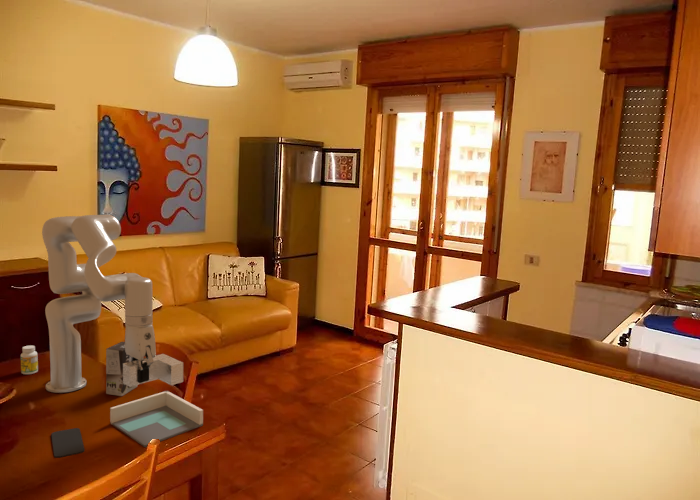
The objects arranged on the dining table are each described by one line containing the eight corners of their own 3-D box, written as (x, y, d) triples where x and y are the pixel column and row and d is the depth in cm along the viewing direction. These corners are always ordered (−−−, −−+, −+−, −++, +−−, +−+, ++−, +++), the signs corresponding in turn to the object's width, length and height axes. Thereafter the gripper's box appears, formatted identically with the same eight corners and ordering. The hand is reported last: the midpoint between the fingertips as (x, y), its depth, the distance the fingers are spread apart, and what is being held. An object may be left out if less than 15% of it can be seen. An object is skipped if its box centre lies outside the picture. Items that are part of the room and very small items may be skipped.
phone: (54, 457, 142) (50, 432, 155) (54, 460, 142) (50, 435, 155) (85, 451, 146) (79, 427, 159) (85, 453, 146) (79, 429, 159)
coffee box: (122, 396, 182) (122, 350, 180) (105, 394, 184) (105, 348, 181) (138, 386, 191) (138, 342, 189) (122, 384, 192) (121, 340, 190)
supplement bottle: (41, 371, 201) (40, 346, 199) (28, 375, 196) (27, 350, 195) (31, 368, 203) (30, 343, 201) (17, 373, 198) (16, 347, 197)
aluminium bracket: (163, 372, 169) (163, 353, 168) (183, 381, 162) (183, 362, 161) (123, 383, 159) (123, 363, 158) (142, 393, 152) (142, 373, 151)
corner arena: (110, 423, 163) (110, 407, 162) (167, 405, 178) (167, 390, 177) (144, 447, 150) (144, 430, 150) (202, 425, 165) (203, 409, 164)
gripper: (166, 323, 156) (166, 383, 158) (136, 312, 166) (137, 369, 169) (141, 328, 150) (142, 390, 153) (112, 316, 161) (113, 375, 163)
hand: (139, 378), depth 161 cm, fingers closed on aluminium bracket, 4 cm apart
